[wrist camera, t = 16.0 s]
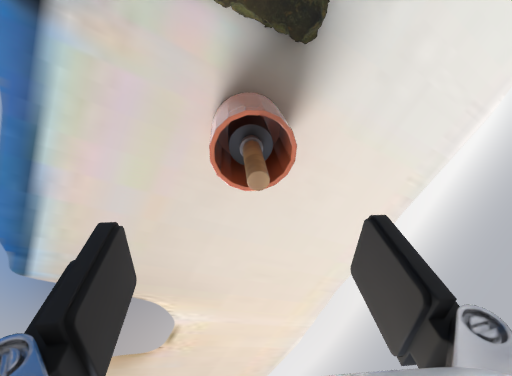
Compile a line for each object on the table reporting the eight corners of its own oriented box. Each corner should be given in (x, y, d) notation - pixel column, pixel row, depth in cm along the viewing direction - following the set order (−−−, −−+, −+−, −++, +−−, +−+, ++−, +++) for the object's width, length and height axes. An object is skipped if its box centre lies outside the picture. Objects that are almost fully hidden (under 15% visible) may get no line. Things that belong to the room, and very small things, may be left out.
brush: (268, 111, 34) (289, 154, 23) (266, 149, 37) (284, 204, 26) (227, 111, 34) (229, 154, 23) (228, 149, 36) (229, 205, 25)
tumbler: (285, 92, 34) (301, 110, 27) (279, 160, 38) (291, 190, 32) (211, 91, 33) (207, 109, 26) (213, 160, 38) (211, 191, 31)
